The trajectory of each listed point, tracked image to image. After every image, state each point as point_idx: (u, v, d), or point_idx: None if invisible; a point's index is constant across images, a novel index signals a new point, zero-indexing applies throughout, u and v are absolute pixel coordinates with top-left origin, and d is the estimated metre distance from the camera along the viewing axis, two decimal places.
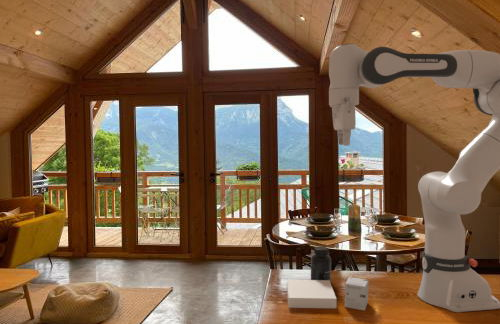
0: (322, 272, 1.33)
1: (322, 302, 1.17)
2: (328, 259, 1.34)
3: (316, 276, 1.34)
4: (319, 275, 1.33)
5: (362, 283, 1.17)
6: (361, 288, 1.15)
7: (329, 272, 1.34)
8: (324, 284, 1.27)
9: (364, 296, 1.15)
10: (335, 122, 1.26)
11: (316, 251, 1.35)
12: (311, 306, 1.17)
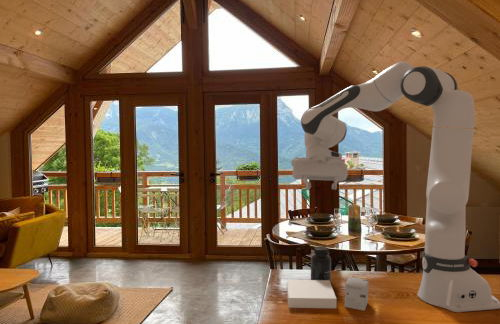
0: (322, 272, 1.33)
1: (322, 302, 1.17)
2: (328, 259, 1.34)
3: (316, 276, 1.34)
4: (319, 275, 1.33)
5: (362, 283, 1.17)
6: (361, 288, 1.15)
7: (329, 272, 1.34)
8: (324, 284, 1.27)
9: (364, 296, 1.15)
10: None
11: (316, 251, 1.35)
12: (311, 306, 1.17)
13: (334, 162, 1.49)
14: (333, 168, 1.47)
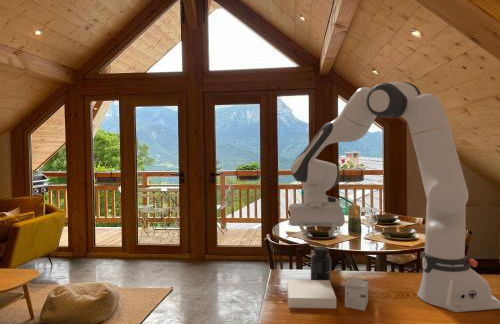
0: (322, 272, 1.33)
1: (322, 302, 1.17)
2: (328, 259, 1.34)
3: (316, 276, 1.34)
4: (319, 275, 1.33)
5: (362, 283, 1.17)
6: (361, 288, 1.15)
7: (329, 272, 1.34)
8: (324, 284, 1.27)
9: (364, 296, 1.15)
10: None
11: (316, 251, 1.35)
12: (311, 306, 1.17)
13: (331, 208, 1.49)
14: (329, 214, 1.48)
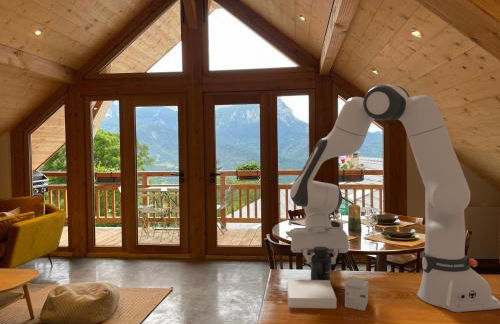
0: (322, 272, 1.33)
1: (322, 302, 1.17)
2: (328, 259, 1.34)
3: (316, 276, 1.34)
4: (319, 275, 1.33)
5: (362, 283, 1.17)
6: (361, 288, 1.15)
7: (329, 272, 1.34)
8: (324, 284, 1.27)
9: (364, 296, 1.15)
10: None
11: (316, 251, 1.35)
12: (311, 306, 1.17)
13: (335, 233, 1.41)
14: (333, 240, 1.39)
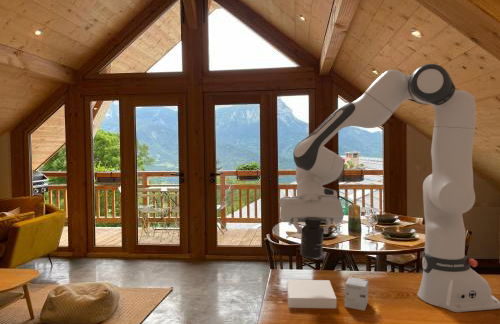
0: (312, 244, 1.22)
1: (322, 302, 1.17)
2: (320, 230, 1.23)
3: (307, 248, 1.23)
4: (309, 247, 1.22)
5: (362, 283, 1.17)
6: (361, 288, 1.15)
7: (320, 244, 1.23)
8: (324, 284, 1.27)
9: (364, 296, 1.15)
10: None
11: (307, 221, 1.23)
12: (311, 306, 1.17)
13: (328, 201, 1.29)
14: (326, 208, 1.28)
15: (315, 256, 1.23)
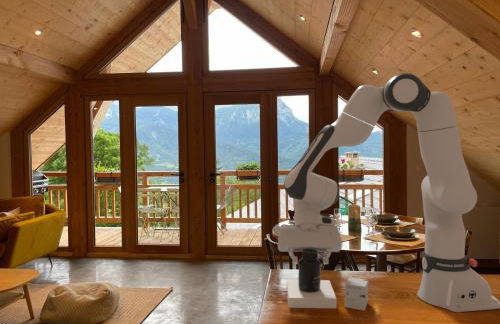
0: (310, 278, 1.20)
1: (322, 302, 1.17)
2: (317, 263, 1.21)
3: (304, 281, 1.21)
4: (307, 281, 1.21)
5: (362, 283, 1.17)
6: (361, 288, 1.15)
7: (318, 277, 1.22)
8: (324, 284, 1.27)
9: (364, 296, 1.15)
10: None
11: (304, 254, 1.22)
12: (311, 306, 1.17)
13: (326, 230, 1.28)
14: (324, 237, 1.26)
15: (313, 290, 1.21)
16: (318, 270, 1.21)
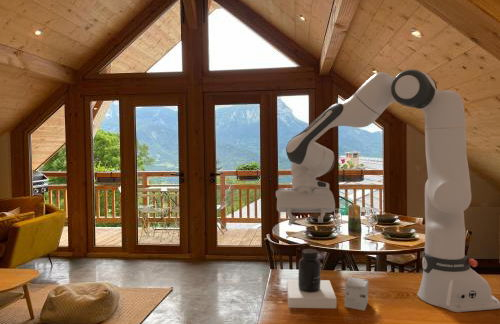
0: (310, 278, 1.20)
1: (322, 302, 1.17)
2: (317, 263, 1.21)
3: (304, 281, 1.21)
4: (307, 281, 1.21)
5: (362, 283, 1.17)
6: (361, 288, 1.15)
7: (318, 278, 1.22)
8: (324, 284, 1.27)
9: (364, 296, 1.15)
10: None
11: (304, 254, 1.22)
12: (311, 306, 1.17)
13: (321, 193, 1.40)
14: (319, 199, 1.38)
15: (313, 290, 1.21)
16: (318, 270, 1.21)
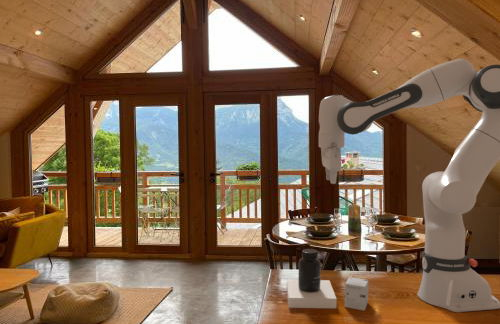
0: (310, 278, 1.20)
1: (322, 302, 1.17)
2: (317, 263, 1.21)
3: (304, 281, 1.21)
4: (307, 281, 1.21)
5: (362, 283, 1.17)
6: (361, 288, 1.15)
7: (318, 277, 1.22)
8: (324, 284, 1.27)
9: (364, 296, 1.15)
10: (323, 160, 1.45)
11: (304, 254, 1.22)
12: (311, 306, 1.17)
13: None
14: None
15: (313, 290, 1.21)
16: (318, 270, 1.21)
